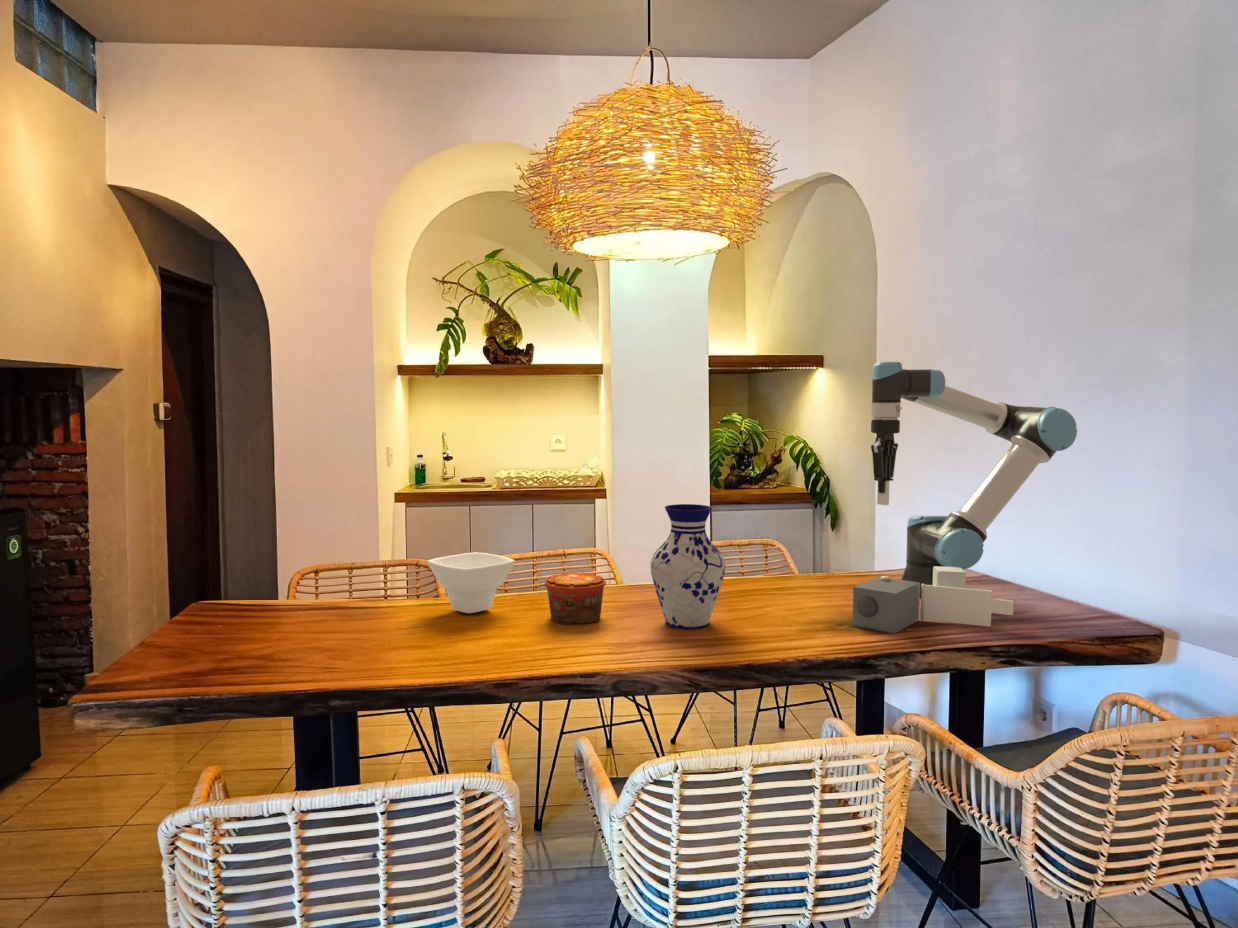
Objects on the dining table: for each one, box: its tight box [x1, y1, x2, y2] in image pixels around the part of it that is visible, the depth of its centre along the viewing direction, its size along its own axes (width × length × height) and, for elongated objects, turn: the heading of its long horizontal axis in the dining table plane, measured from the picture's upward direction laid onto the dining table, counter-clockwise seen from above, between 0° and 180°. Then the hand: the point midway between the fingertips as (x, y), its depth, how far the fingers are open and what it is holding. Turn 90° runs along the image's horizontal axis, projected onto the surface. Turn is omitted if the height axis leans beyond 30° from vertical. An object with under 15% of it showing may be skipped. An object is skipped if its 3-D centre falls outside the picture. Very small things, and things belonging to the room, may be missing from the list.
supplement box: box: [933, 566, 967, 588], centre depth 228 cm, size 7×7×13 cm
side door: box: [919, 584, 1015, 628], centre depth 219 cm, size 22×1×10 cm, turn 67°
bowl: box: [426, 551, 516, 614], centre depth 230 cm, size 19×19×14 cm
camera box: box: [852, 575, 921, 634], centre depth 220 cm, size 17×11×11 cm, turn 140°
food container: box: [544, 571, 607, 626], centre depth 224 cm, size 16×16×11 cm
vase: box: [650, 503, 726, 630], centre depth 218 cm, size 19×19×30 cm
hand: (882, 504), depth 236 cm, fingers closed
